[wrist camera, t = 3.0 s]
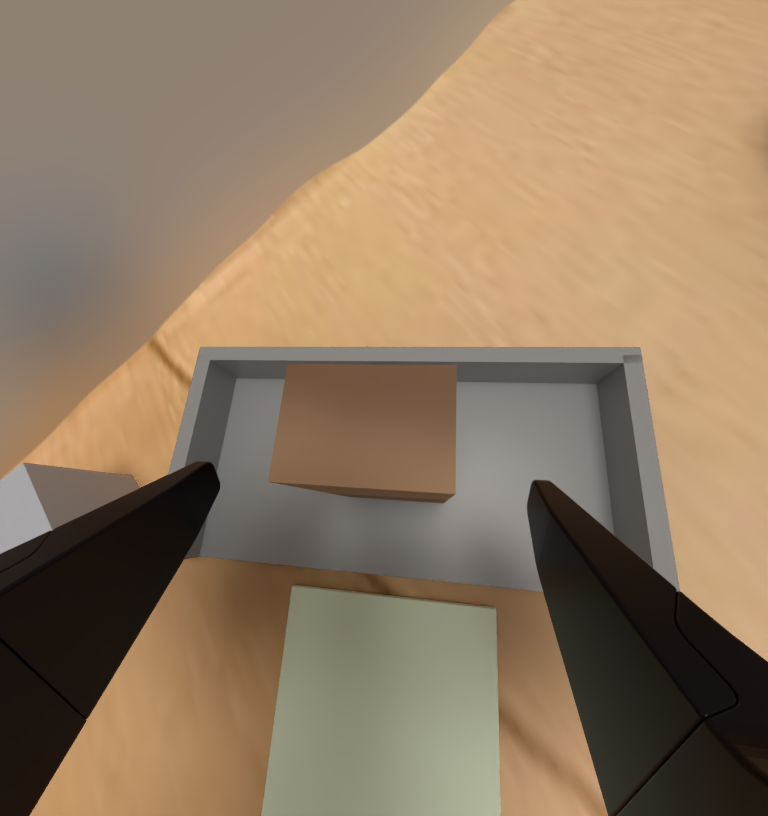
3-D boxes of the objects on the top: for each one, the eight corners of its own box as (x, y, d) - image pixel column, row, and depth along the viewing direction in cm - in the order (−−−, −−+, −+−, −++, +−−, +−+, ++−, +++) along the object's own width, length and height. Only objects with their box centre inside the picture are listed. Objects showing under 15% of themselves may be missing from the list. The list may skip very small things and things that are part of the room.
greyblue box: (29, 688, 18) (-157, 769, 12) (-5, 591, 20) (-181, 623, 14) (180, 556, 19) (72, 575, 13) (134, 476, 21) (22, 462, 15)
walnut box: (443, 503, 17) (455, 494, 8) (349, 496, 18) (268, 481, 9) (444, 435, 18) (456, 361, 9) (355, 431, 19) (288, 360, 10)
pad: (500, 895, 13) (502, 906, 13) (261, 839, 15) (256, 847, 14) (494, 606, 16) (496, 609, 16) (295, 584, 18) (291, 586, 17)
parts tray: (638, 600, 15) (684, 620, 13) (189, 554, 19) (146, 562, 16) (608, 372, 19) (640, 347, 16) (230, 368, 22) (200, 347, 19)
